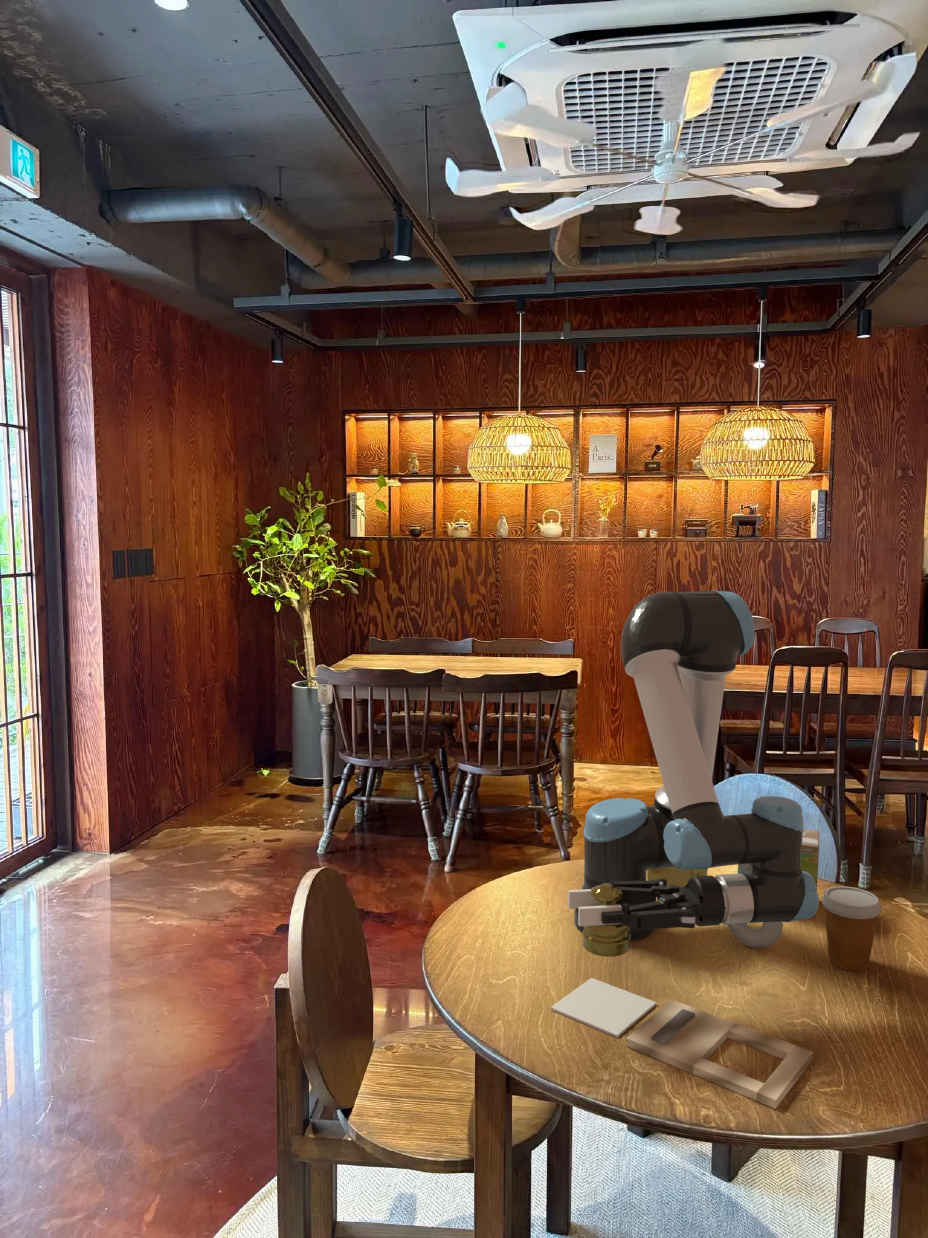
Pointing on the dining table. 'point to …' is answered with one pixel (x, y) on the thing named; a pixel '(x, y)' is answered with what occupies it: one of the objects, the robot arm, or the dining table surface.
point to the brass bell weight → (606, 926)
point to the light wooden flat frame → (698, 1035)
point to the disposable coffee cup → (850, 926)
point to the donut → (757, 934)
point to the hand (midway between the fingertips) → (574, 908)
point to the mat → (604, 1007)
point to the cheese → (675, 875)
